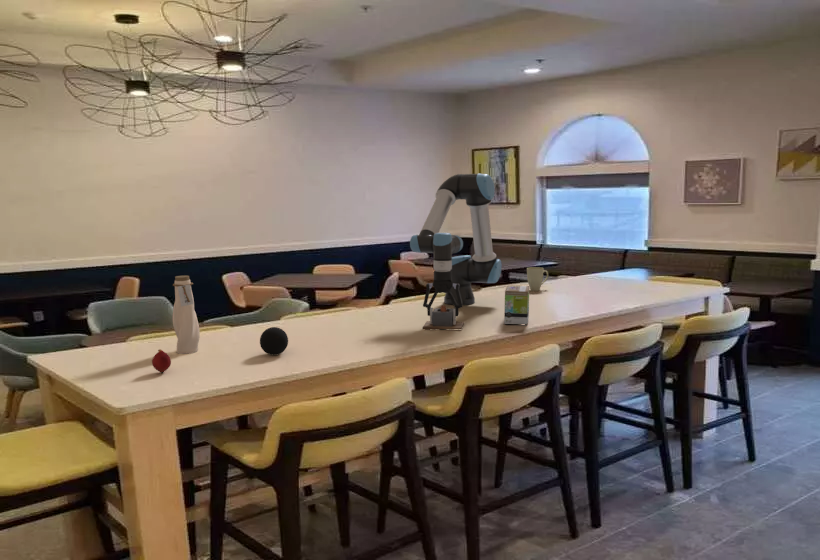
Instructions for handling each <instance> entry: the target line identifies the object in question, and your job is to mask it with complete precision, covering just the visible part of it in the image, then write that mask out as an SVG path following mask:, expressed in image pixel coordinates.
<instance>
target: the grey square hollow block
mask: <svg viewBox="0 0 820 560" xmlns="http://www.w3.org/2000/svg"><path fill="white" fill-rule="evenodd" d="M453 309H454V308H447V307H446V312H441V307H440V308H439V307H438V308H437V307H436V308H434V309H433V326H442V327H452V326H453Z"/></svg>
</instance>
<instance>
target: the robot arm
mask: <svg viewBox="0 0 820 560" xmlns="http://www.w3.org/2000/svg"><path fill="white" fill-rule="evenodd" d="M494 197H495V183H494V180H493V178H492V176H491V175H489V174H487V173H480V172H479V173H465V174H464V173H458V174H454V175H452V176H450V177H448V178H447V179H445V181H444V182H442V183H441V184H440V185H439V188H438V189H437V191H436V193H435V200H434V202H433V204H432V207H431V208H430V210H429V213H428V215H427V217H426V219H425V222H424V223H423V225H422V228H421V230H420V231H419V234H414V235H412V236H411V237H410V240H409V247H410V250H411V251H412V252H414V253H418V254H419V253H420V254H421V253H423V254H424V253H425V254H427V253H428V254H433V281H432V282H431V283H429V282H427V283H426V284H425V289H426V290H425V295H424V299H423V304H422V307H423V308H426V309H427V310H426V311H427V316H428V317H429V321H430V324H432V323H433V311H434V309H433V307H432V305H433V303H434V302H435V299H436V298H437V296H438V294H440V293H444V294H445V295H444V298H443V299H444V300H443V302H444V303H445V304H447V305H452V306H454V308H452V309H453V325H455V324H456V322H457V317H459V315H460V314H459V312H460V311H459V309H460V308H463V306H465V305H471V304H472V305H473V304H474V303H475V302H476V300H475V299H476V298H475V295H474V292H473V289H472V283H480V284H481V283H482V284H496V283H497V282H498V281H499V280H500V276H501V274H502V268H503V267H502V261H501V259H499V258H497V253H495V252H494V249H493V241H492V239H493V238H492V231H491V229H492V228H491V219H490V211H489V205H491V203H492V200H493V198H494ZM458 200H465V204H466V206H467V207H469V212H470V221H471V229H472V239H473V249H474V254H473V255H472V256H471V255H470V254H469V255H468V254H466V255H463V254H462V255H458V256H457V255H456V256H452V255H453V254H458V253H459V252H460V251H461V250H463V247H464V241H463V239H462V238H461V237H460V235H456V234H454V235H453V234H451V233H450V232H440V231H441V228H442V227H443V224H444V223H445V219H446V217H447V215H448V214H449V210H450V208H451V207H452V206H453V205H454V204H455V203H456V201H458ZM432 287H433V288H434V290H435V291H434V293H433V295H432V297H431V299H430V300H429V296H430V291H431V289H432ZM428 301H429V302H428Z"/></svg>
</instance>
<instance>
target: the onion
mask: <svg viewBox="0 0 820 560" xmlns="http://www.w3.org/2000/svg"><path fill="white" fill-rule="evenodd" d="M157 351H158V352H156V354H155V355H154V356H153V357H152V360H151V364H152V366H153V368H154V369H155V371H158V372H159V373H161V372H164V371H165V372H166V371H168V369H169V368H170V367H171V364H172V359H171V356H170V355H169V354H168V353H167V352H165V351H164V350H162V349H160V348H159V349H158V350H157ZM165 372H164V373H165Z"/></svg>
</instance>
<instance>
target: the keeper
mask: <svg viewBox="0 0 820 560" xmlns="http://www.w3.org/2000/svg"><path fill="white" fill-rule="evenodd" d="M440 308H441V312H446V308H447V306H446V305H445V304H442V305H440ZM464 325H465V321H456V324H455V325H453V326H452V327H442V326H433V323H432V324H430V320H426V321H425V322H424V324H423V326H422V327H421V328H422V329H425V331H426V330H427V331H428V330H429V331H431V330H430V329H462V330H463V328H464ZM462 327H463V328H462Z"/></svg>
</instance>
